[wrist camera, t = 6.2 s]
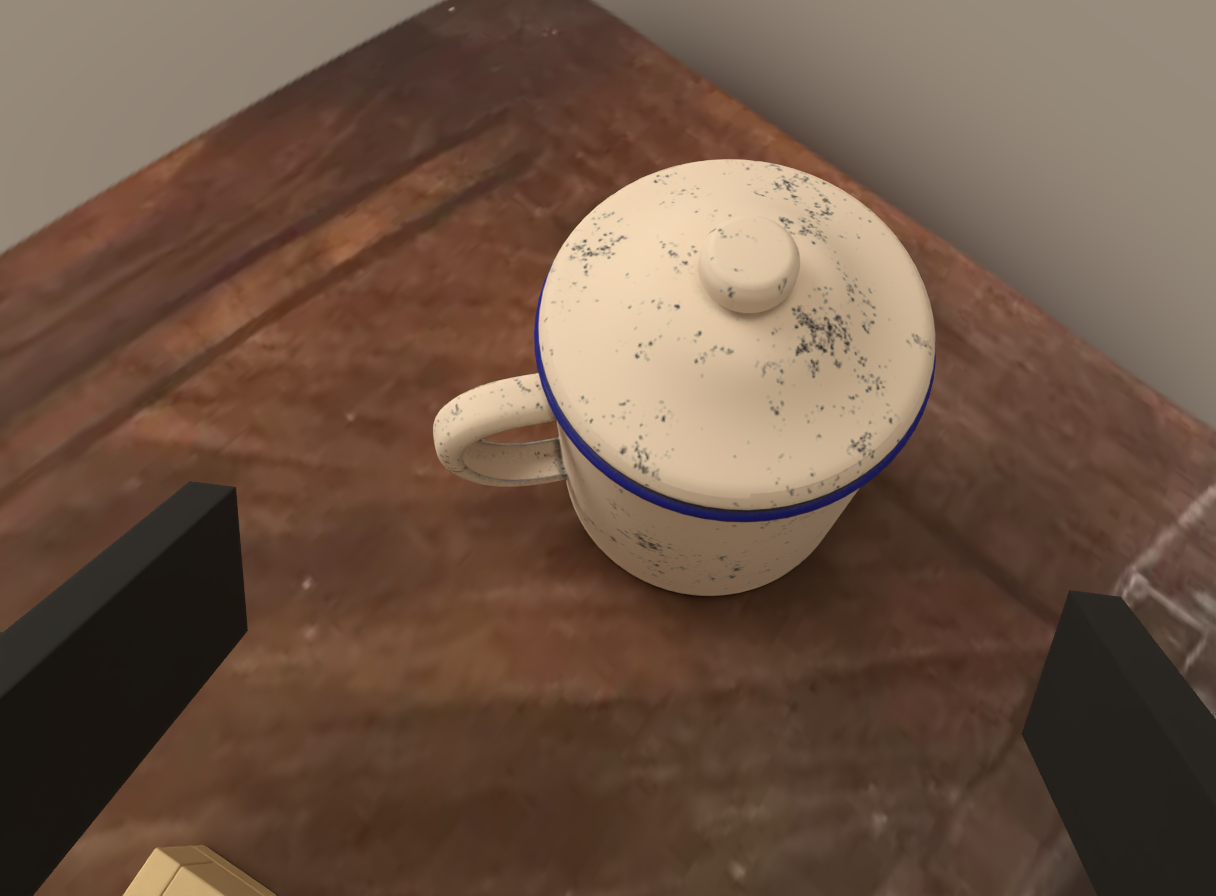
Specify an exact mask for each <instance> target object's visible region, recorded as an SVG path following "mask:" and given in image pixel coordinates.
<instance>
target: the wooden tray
mask: <svg viewBox="0 0 1216 896" xmlns="http://www.w3.org/2000/svg"><path fill="white" fill-rule="evenodd" d="M123 896H277V895H276V894H274V893H273V892H271V891H270V890H268V889H267V888H265V887H264V886H263V885H261V884H260V883H258V882H257V881H255V880H254V879H252V878H251V877H250V876H248V875H247V874H245V873H244V872H242V871H241V870H239V869H238V868H237V867H235V866H234V865H232V864H231V863H229V862H228V861H226V860H225V859H224V858H222V857H221V856H219V855H218V854H216V853H215V852H213V851H212V850H211V849H209V848H208V847H206V846H204V845H201V846H180V847H164V848H156V849H155V850H154V851H153V853H152V854H151V856H150V857H149V858H148V860H147V861H146V863H145V864H144V866H143V867H142V869H141V870H140V871H139V873H138V874H137V876H136V877H135V879H134V880H133V882H132V883H131V884H130V886H129V887H128V889H127V890H126V892H125V893H124V895H123Z"/></svg>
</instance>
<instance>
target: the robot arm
mask: <svg viewBox="0 0 1216 896" xmlns="http://www.w3.org/2000/svg"><path fill="white" fill-rule="evenodd" d="M247 631H248V629H247V616H246V604H245V592H244V580H243V568H242V556H241V544H240V532H239V520H238V507H237V495H236V487H231V486H223V485H215V484H207V483H199V482H191V481H190V482H189V483H187V484H186V485H185V486H184V487H182V488H181V489H180V490H179V491H177V492H176V493H175V494H174V495H172V496H171V497H170V498H169V499H167V500H166V501H165V502H164V503H162V504H161V505H160V506H159V507H158V508H156V509H155V510H154V511H153V512H151V513H150V514H149V515H148V516H146V517H145V518H144V519H143V520H141V521H140V522H139V523H138V524H136V525H135V526H134V527H133V528H132V529H130V530H129V531H128V532H127V533H125V534H124V535H123V536H122V537H120V538H119V539H118V540H117V541H115V542H114V543H113V544H112V545H110V546H109V547H108V548H107V549H106V550H104V551H103V552H102V553H101V554H99V555H98V556H97V557H96V558H94V559H93V560H92V561H91V562H89V563H88V564H87V565H86V566H84V567H83V568H82V569H81V570H80V571H78V572H77V573H76V574H75V575H73V576H72V577H71V578H70V579H68V580H67V581H66V582H65V583H63V584H62V585H61V586H60V587H58V588H57V589H56V590H55V591H54V592H52V593H51V594H50V595H49V596H47V597H46V598H45V599H44V600H42V601H41V602H40V603H39V604H37V605H36V606H35V607H34V608H32V609H31V610H30V611H29V612H28V613H26V614H25V615H24V616H23V617H21V618H20V619H19V620H18V621H16V622H15V623H14V624H13V625H11V626H10V627H9V628H8V629H6V630H5V631H4V632H3V633H1V632H0V896H33V895H34V894H35V892H36V891H37V890H38V889H39V888H40V886H41V885H42V884H43V883H44V881H45V880H46V879H47V878H48V876H49V875H50V874H51V873H52V872H53V870H54V869H55V868H56V867H57V865H58V864H59V863H60V862H61V860H62V859H63V858H64V857H65V855H66V854H67V853H68V852H69V851H70V849H71V848H72V847H73V846H74V844H75V843H76V842H77V841H78V839H79V838H80V837H81V836H82V834H83V833H84V832H85V831H86V830H87V828H88V827H89V826H90V825H91V823H92V822H93V821H94V820H95V818H96V817H97V816H98V815H99V814H100V812H101V811H102V810H103V809H104V807H105V806H106V805H107V804H108V802H109V801H110V800H111V799H112V797H113V796H114V795H115V794H116V793H117V791H118V790H119V789H120V788H121V786H122V785H123V784H124V783H125V781H126V780H127V779H128V778H129V777H130V775H131V774H132V773H133V772H134V770H135V769H136V768H137V767H138V765H139V764H140V763H141V762H142V760H143V759H144V758H145V757H146V756H147V754H148V753H149V752H150V751H151V749H152V748H153V747H154V746H155V744H156V743H157V742H158V741H159V739H160V738H161V737H162V736H163V735H164V733H165V732H166V731H167V730H168V728H169V727H170V726H171V725H172V723H173V722H174V721H175V720H176V719H177V717H178V716H179V715H180V714H181V712H182V711H183V710H184V709H185V707H186V706H187V705H188V704H189V702H190V701H191V700H192V699H193V698H194V696H195V695H196V694H197V693H198V691H199V690H200V689H201V688H202V686H203V685H204V684H205V683H206V682H207V680H208V679H209V678H210V677H211V675H212V674H213V673H214V672H215V670H216V669H217V668H218V667H219V665H220V664H221V663H222V662H223V661H224V659H225V658H226V657H227V656H228V654H229V653H230V652H231V651H232V649H233V648H234V647H235V646H236V645H237V643H238V642H239V641H240V640H241V638H242V637H243V636H244V635H245V633H246V632H247ZM1022 735H1023V738H1024V740H1025V742H1026V744H1027V746H1028V748H1029V750H1030V752H1031V755H1032V757H1033V759H1034V761H1035V763H1036V765H1037V767H1038V770H1039V772H1040V774H1041V776H1042V778H1043V780H1044V782H1045V785H1046V787H1047V789H1048V791H1049V793H1050V795H1051V797H1052V799H1053V802H1054V804H1055V806H1056V808H1057V810H1058V812H1059V814H1060V817H1061V819H1062V821H1063V823H1064V825H1065V827H1066V829H1067V831H1068V834H1069V836H1070V838H1071V840H1072V842H1073V844H1074V846H1075V849H1076V851H1077V853H1078V855H1079V857H1080V859H1081V861H1082V863H1083V866H1084V868H1085V870H1086V872H1087V874H1088V876H1089V878H1090V881H1091V883H1092V885H1093V887H1094V889H1095V891H1096V893H1097V895H1098V896H1216V719H1215V718H1214V717H1213V715H1212V714H1211V713H1210V711H1209V710H1208V709H1207V707H1206V706H1205V705H1204V704H1203V702H1202V701H1201V700H1200V698H1199V697H1198V696H1197V695H1196V693H1195V692H1194V691H1193V689H1192V688H1191V687H1190V686H1189V684H1188V683H1187V682H1186V680H1185V679H1184V678H1183V676H1182V675H1181V674H1180V673H1179V671H1178V670H1177V669H1176V667H1175V666H1174V665H1173V664H1172V662H1171V661H1170V660H1169V658H1168V657H1167V656H1166V655H1165V653H1164V652H1163V651H1162V649H1161V648H1160V647H1159V646H1158V644H1157V643H1156V642H1155V640H1154V639H1153V638H1152V636H1151V635H1150V634H1149V633H1148V631H1147V630H1146V629H1145V627H1144V626H1143V625H1142V624H1141V622H1140V621H1139V620H1138V618H1137V617H1136V616H1135V615H1134V613H1133V612H1132V611H1131V609H1130V608H1129V607H1128V605H1127V604H1126V603H1125V602H1124V600H1123V599H1122V598H1121V597H1118V596H1110V595H1102V594H1094V593H1086V592H1077V591H1069V593H1068V596H1067V599H1066V602H1065V605H1064V608H1063V611H1062V614H1061V617H1060V620H1059V623H1058V626H1057V629H1056V632H1055V635H1054V638H1053V641H1052V644H1051V647H1050V650H1049V653H1048V656H1047V659H1046V662H1045V666H1044V669H1043V672H1042V675H1041V678H1040V681H1039V684H1038V687H1037V690H1036V693H1035V696H1034V699H1033V702H1032V705H1031V708H1030V711H1029V714H1028V717H1027V720H1026V723H1025V726H1024V729H1023V732H1022Z"/></svg>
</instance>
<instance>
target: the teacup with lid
mask: <svg viewBox="0 0 1216 896" xmlns="http://www.w3.org/2000/svg"><path fill="white" fill-rule="evenodd" d="M534 341H535V356H536V362H537V369H538V373H536V374H530V375H525V376H519V377H514V378H509V379H504V380H500V381H495V382H492V383H488V384H485V385H482V386H479V387H476V388H474V389H471V390H469V391H467V392H465V393H463V394H461V395H459V396H458V397H456V398H455V399H453V400H452V401H450V402H449V403H448V404H446V405H445V406H444V407H443V408H442V409H441V410H440V411H439V413H438V415H437V416H436V418H435V421H434V425H433V436H434V443H435V449H436V452H437V456H438V458H439V460H440V461H441V463H442V464H443V465H444V466H445V467H446V468H447V469H448V470H449V471H450V472H452V473H453V474H455V475H457V476H459V477H461V478H463V479H465V480H468V481H471V482H475V483H479V484H484V485H490V486H499V487H517V486H529V485H537V484H544V483H550V482H556V481H561V480H566V481H567V486H568V490H569V494H570V498H571V501H572V503H573V506H574V509H575V511H576V513H577V515H578V517H579V519H580V521H581V523H582V525H583V526H584V528H585V529H586V531H587V533H588V534H589V535H590V537H591V538H592V539H593V541H594V542H595V543H596V544H597V546H598V547H599V548H600V549H601V550H602V551H603V552H604V553H605V554H606V555H607V556H608V557H609V558H610V559H612V560H613V561H614V562H615V563H616V564H617V565H619V566H620V567H622V568H623V569H624V570H626V571H627V572H629V573H630V574H632V575H634V576H636V577H637V578H639V579H641V580H643V581H645V582H648V583H650V584H652V585H654V586H657V587H660V588H663V589H666V590H669V591H674V592H678V593H682V594H690V595H699V596H718V595H729V594H735V593H741V592H744V591H748V590H752V589H755V588H758V587H760V586H763V585H766V584H768V583H770V582H772V581H774V580H776V579H778V578H780V577H782V576H783V575H785V574H786V573H788V572H790V571H791V570H793V569H794V568H795V567H796V566H798V565H799V564H800V563H801V562H803V561H804V560H805V559H806V558H807V557H808V556H809V555H810V554H811V553H812V552H813V551H814V550H815V548H816V547H817V546H818V545H819V544H820V542H821V541H822V540H823V538H824V537H825V535H826V534H827V533H828V531H829V530H830V529H831V527H832V526H833V524H834V523H835V522H836V520H837V519H838V517H839V516H840V515H841V513H842V512H843V511H844V509H845V508H846V506H847V505H848V504H849V502H850V501H851V499H852V498H853V497H854V495H855V494H856V492H857V491H858V490H859V488H861V487H862V486H864V485H865V484H866V483H867V482H869V481H870V480H871V479H873V478H874V477H875V476H877V475H878V474H879V473H880V472H881V471H882V470H883V469H884V468H885V467H886V466H887V465H888V464H889V463H890V462H891V461H892V460H893V459H894V458H895V457H896V455H897V454H898V453H899V452H900V451H901V449H902V448H903V447H904V446H905V444H906V443H907V441H908V440H909V438H910V437H911V435H912V433H913V432H914V430H915V429H916V427H917V425H918V423H919V421H920V419H921V417H922V415H923V412H924V409H925V407H926V404H927V401H928V398H929V395H930V391H931V387H932V383H933V379H934V370H935V362H936V343H935V329H934V319H933V314H932V309H931V305H930V301H929V298H928V295H927V292H926V289H925V286H924V283H923V281H922V279H921V277H920V274H919V272H918V270H917V268H916V266H915V264H914V263H913V261H912V259H911V257H910V256H909V254H908V252H907V251H906V249H905V248H904V247H903V245H902V244H901V243H900V241H899V240H898V238H897V237H896V236H895V235H894V233H893V232H892V231H891V230H890V229H889V228H888V227H887V225H886V224H885V223H884V222H883V221H882V220H881V219H880V218H878V217H877V216H876V215H875V214H874V213H873V212H872V211H871V210H870V209H868V208H867V207H866V206H865V205H863V204H862V203H861V202H860V201H858V200H857V199H855V198H854V197H852V196H851V195H849V194H848V193H846V192H845V191H843V190H841V189H839V188H838V187H836V186H834V185H832V184H830V183H828V182H826V181H824V180H822V179H820V178H817V177H815V176H813V175H810V174H807V173H804V172H802V171H799V170H796V169H792V168H789V167H785V166H781V165H777V164H771V163H766V162H760V161H750V160H730V159H724V160H707V161H700V162H693V163H688V164H683V165H679V166H674V167H671V168H668V169H664V170H661V171H658V172H656V173H653V174H651V175H648V176H646V177H643V178H641V179H639V180H637V181H635V182H633V183H631V184H629V185H627V186H626V187H624V188H623V189H621V190H619V191H618V192H616V193H615V194H613V195H611V196H610V197H609V198H607V199H606V200H605V201H604V202H602V203H601V204H600V205H598V206H597V207H596V208H595V209H594V210H593V211H592V212H591V213H589V214H588V215H587V216H586V217H585V218H584V219H583V220H582V221H581V223H580V224H579V225H578V226H577V227H576V228H575V229H574V231H573V232H572V233H571V234H570V236H569V237H568V239H567V240H566V242H565V243H564V244H563V246H562V248H561V249H560V251H559V253H558V255H557V256H556V258H555V260H554V262H553V264H552V266H551V268H550V270H549V272H548V274H547V277H546V279H545V281H544V284H543V287H542V291H541V294H540V297H539V301H538V306H537V311H536V318H535V331H534ZM551 421H557V426H558V432H559V437H558V438H554V439H548V440H542V441H535V442H527V443H515V444H503V443H494V442H488V441H484V440H481V439H483V438H485V437H487V436H490V435H492V434H495V433H499V432H502V431H506V430H510V429H514V428H519V427H524V426H529V425H535V424H540V423H546V422H551Z"/></svg>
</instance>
